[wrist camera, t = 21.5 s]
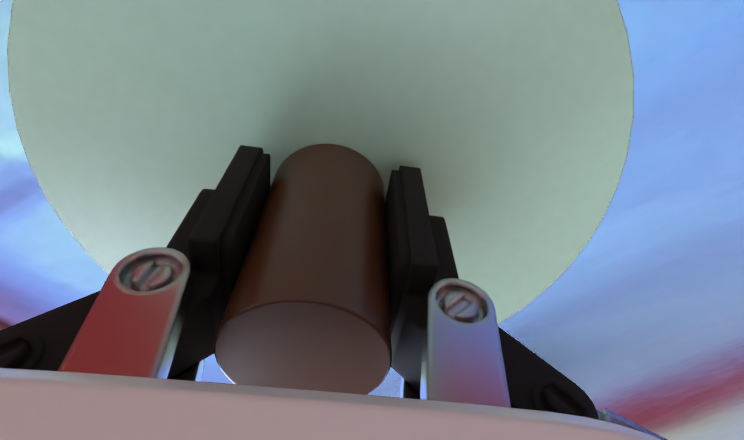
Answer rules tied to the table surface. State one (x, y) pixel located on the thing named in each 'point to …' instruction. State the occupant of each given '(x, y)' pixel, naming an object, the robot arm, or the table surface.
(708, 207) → the table surface
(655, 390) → the table surface
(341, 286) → the pot lid
